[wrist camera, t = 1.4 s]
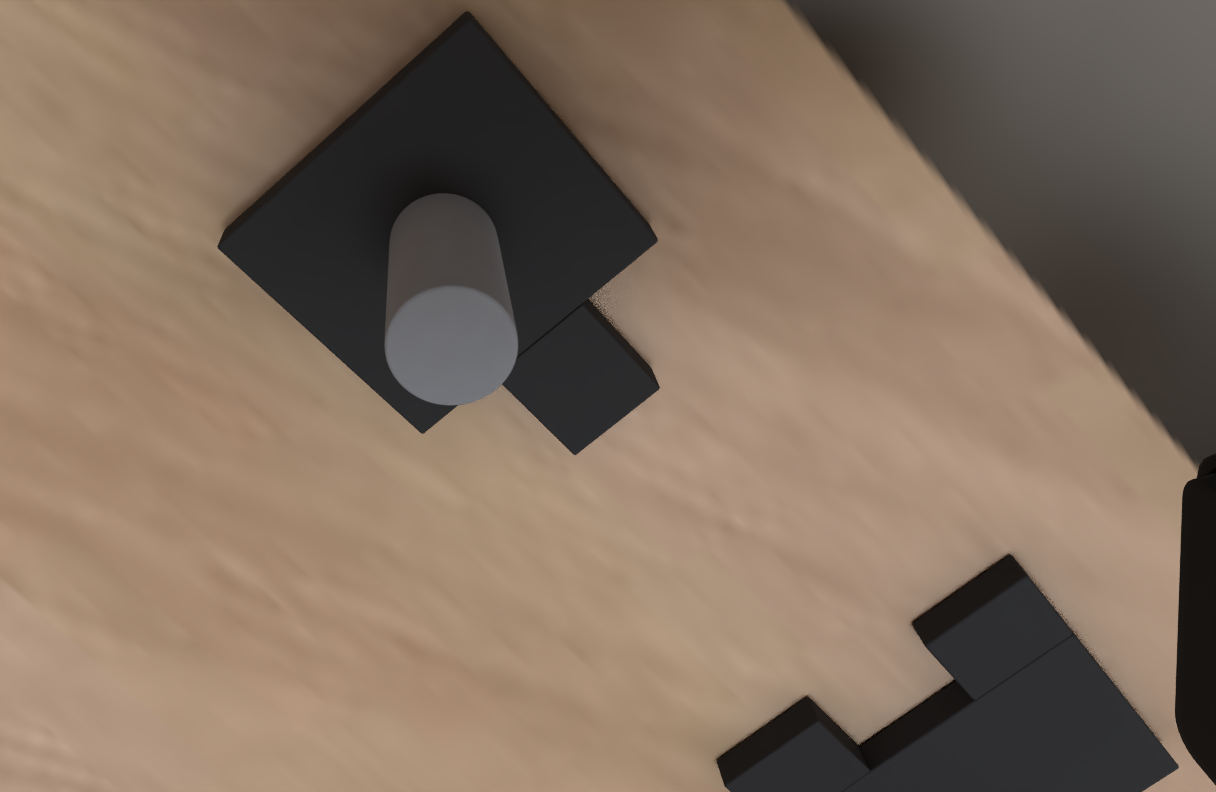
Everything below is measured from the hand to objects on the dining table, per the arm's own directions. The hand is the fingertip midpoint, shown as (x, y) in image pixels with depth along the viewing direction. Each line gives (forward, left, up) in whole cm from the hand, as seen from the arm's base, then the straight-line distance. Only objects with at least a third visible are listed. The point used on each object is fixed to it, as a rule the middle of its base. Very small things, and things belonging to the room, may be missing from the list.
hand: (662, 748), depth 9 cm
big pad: (+3, +27, -21) cm, 34 cm away
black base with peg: (+3, +3, -21) cm, 21 cm away
